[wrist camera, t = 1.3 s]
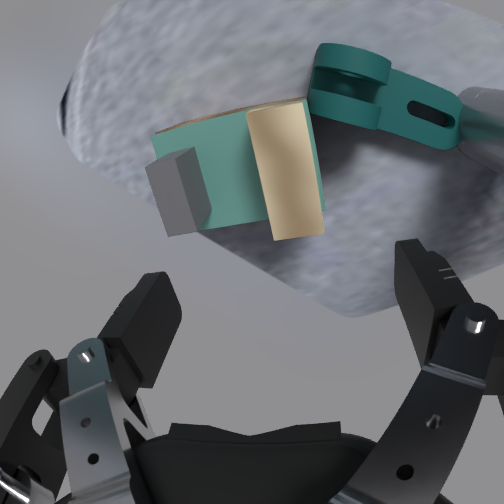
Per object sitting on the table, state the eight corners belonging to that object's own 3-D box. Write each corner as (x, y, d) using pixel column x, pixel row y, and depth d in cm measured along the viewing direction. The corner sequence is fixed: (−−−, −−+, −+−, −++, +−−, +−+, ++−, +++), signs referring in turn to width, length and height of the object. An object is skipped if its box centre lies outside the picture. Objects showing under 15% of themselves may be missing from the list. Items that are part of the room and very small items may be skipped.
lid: (305, 98, 25) (309, 101, 19) (324, 202, 30) (331, 235, 24) (159, 132, 28) (124, 147, 22) (187, 224, 33) (163, 259, 27)
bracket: (305, 108, 31) (308, 113, 24) (316, 50, 28) (323, 39, 21) (450, 153, 31) (483, 171, 24) (463, 101, 27) (500, 108, 20)
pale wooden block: (300, 100, 24) (302, 102, 20) (320, 211, 28) (324, 233, 24) (252, 109, 24) (245, 113, 21) (276, 218, 29) (274, 240, 25)
